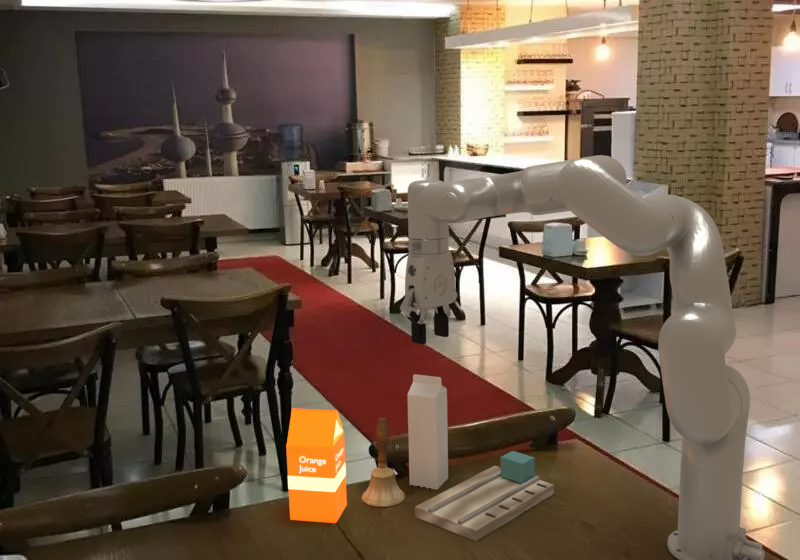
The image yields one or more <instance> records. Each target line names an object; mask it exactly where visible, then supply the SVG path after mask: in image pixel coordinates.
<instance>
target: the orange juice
mask: <svg viewBox="0 0 800 560" xmlns="http://www.w3.org/2000/svg"><path fill="white" fill-rule="evenodd" d="M288 427H289V428H288V432H287V434H288V435H287V440H286V441H287V442H286V445H285V448H286V465H287V466H286V467H287V489H288V500H289V502H288V503H289V505H288V506H289V518H290V519H289V520H290V521H304V522H315V523H331V524H336V523H337V522H338V521H339V519H340V517H341V516H342V514H343V512H344V510H345V508H346V507H347V505H348V501H347V479H346V478H347V469H346V468H347V466H346V464H347V463H346V452H345V451H346V449H345V445H346V444H345V431H344V428H343V424H342V421H341V418H340V414H339V412H338V410H336V409H335V410H334V409H316V408H315V409H314V408H298V407H297V408H296V407H294V408H291V412H290V420H289V425H288Z"/></svg>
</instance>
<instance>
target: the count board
mask: <svg viewBox="0 0 800 560" xmlns="http://www.w3.org/2000/svg"><path fill="white" fill-rule="evenodd" d="M554 495H555V484H554V483H550V482H547V481H544V480H541V477H540V476H537V475H535V477H534V478H532V479H530V480H528V481H526V482H525V483H523V484H522V483H519V482H516V481H513V480H510V479H507V478H504V477H501V466H497V465H493V466H491V467H490V468H487V469H485V470H483V471H481V472H479V473H477V474H476V475H474V476H472V477H470V478H468V479H466V480H464V481H462V482H460V483H458V484H456V485H454V486H452V487H450V488H448V489H447V490H445V491H442V492H441V493H439V494H436V495H435V496H433V497H431V498H429V499H427V500H424V501H423V502H422V503H421V502H420V504H417V505H416V506H414V517H415V518H417V519H419V520H422V521H424V522H427V523H428V524H429V523H430V524H432V525H434V526H436V527H439V528H442V529H444V530H447V531H450V532H452V533H454V534H457V535H459V536H461V537H464V538H466V539H469V540H472V541H474V542H478V541H479V540H481V539H482V538H484V537H486V536H487V535H489V534H491V533H492V532H494V531H495V530H497V529H499V528H501V527H502V526H504V525H505V524H508V523H509V522H510V521H512V520H514V519H516V518H517V517H519V516H520V514H521V513H522V514H524V513H525V512H524V511H526V510H527V511H529V510H530V509H532V508H533V506H534V507H535V506H537V505H539V504H540V503H542V502H544V501H546V500H547V499H549V498H551V497H553V496H554ZM543 500H544V501H543ZM541 501H542V502H541ZM538 503H539V504H538ZM531 507H532V508H531ZM528 509H529V510H528ZM527 511H526V512H527ZM523 512H524V513H523ZM522 514H521V515H522Z"/></svg>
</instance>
